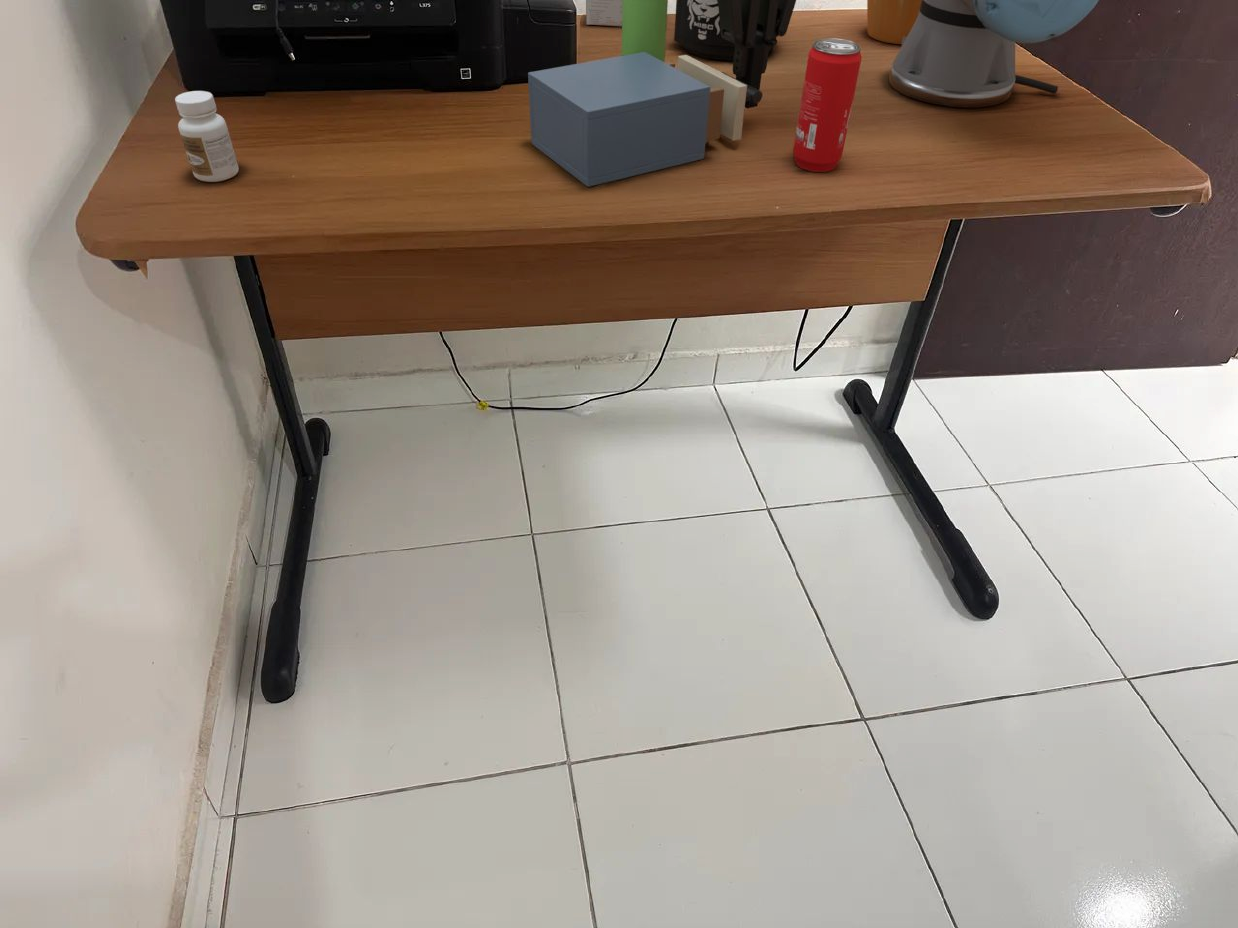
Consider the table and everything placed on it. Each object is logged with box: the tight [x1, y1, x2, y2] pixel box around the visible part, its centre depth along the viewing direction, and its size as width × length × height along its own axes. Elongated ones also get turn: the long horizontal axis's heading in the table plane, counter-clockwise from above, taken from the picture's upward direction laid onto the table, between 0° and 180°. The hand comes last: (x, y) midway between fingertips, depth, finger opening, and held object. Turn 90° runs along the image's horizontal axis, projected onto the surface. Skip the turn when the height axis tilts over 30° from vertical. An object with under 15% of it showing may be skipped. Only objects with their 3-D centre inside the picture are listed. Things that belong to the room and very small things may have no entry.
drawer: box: [665, 54, 763, 143], centre depth 96 cm, size 18×11×6 cm, turn 121°
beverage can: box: [792, 37, 862, 173], centre depth 89 cm, size 5×5×12 cm
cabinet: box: [527, 52, 710, 188], centre depth 92 cm, size 15×13×8 cm
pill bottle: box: [174, 90, 240, 183], centre depth 86 cm, size 4×4×8 cm
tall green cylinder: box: [620, 0, 669, 63], centre depth 102 cm, size 5×5×15 cm
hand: (745, 103), depth 101 cm, fingers closed
